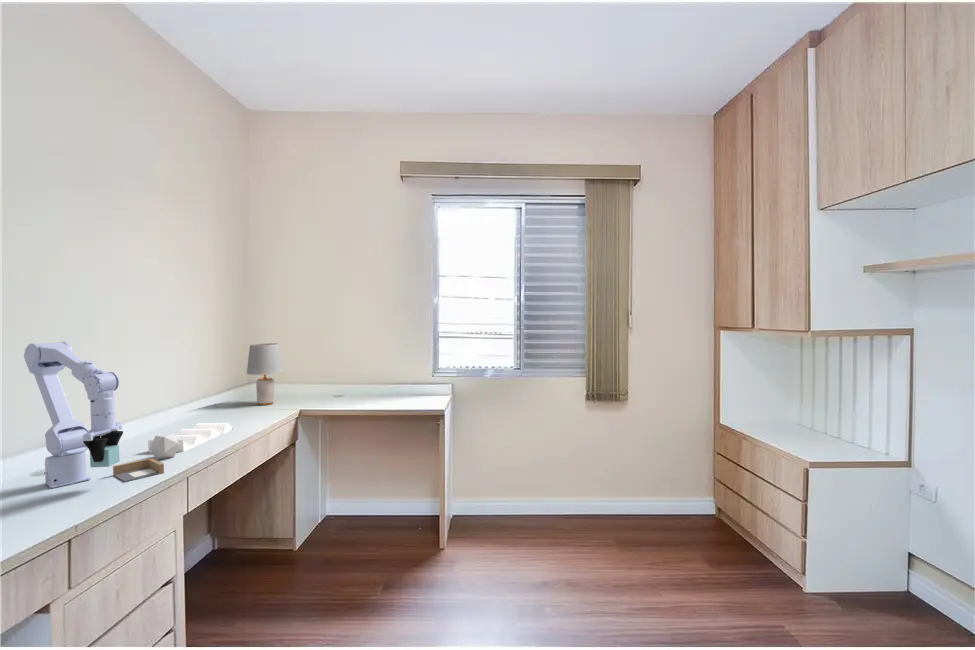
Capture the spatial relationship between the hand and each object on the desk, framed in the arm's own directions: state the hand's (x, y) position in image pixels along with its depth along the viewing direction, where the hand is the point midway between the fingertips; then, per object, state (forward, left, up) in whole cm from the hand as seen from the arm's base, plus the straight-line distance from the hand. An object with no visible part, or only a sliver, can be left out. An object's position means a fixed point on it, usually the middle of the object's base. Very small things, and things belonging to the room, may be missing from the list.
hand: (104, 458), depth 146 cm
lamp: (+96, +89, -8) cm, 131 cm away
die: (+22, +18, -8) cm, 30 cm away
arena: (+10, +4, -8) cm, 14 cm away
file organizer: (+39, +37, -9) cm, 54 cm away
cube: (0, 0, -2) cm, 2 cm away
